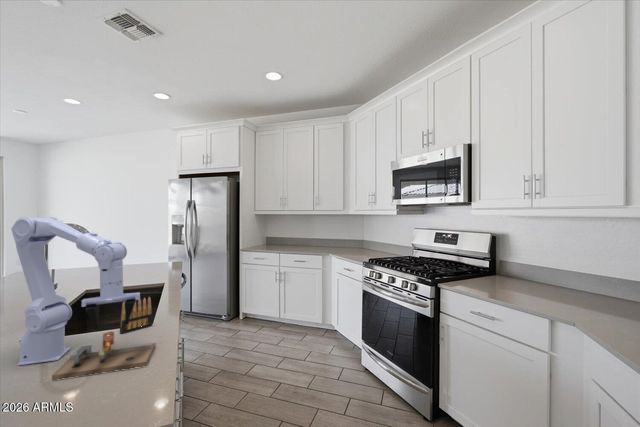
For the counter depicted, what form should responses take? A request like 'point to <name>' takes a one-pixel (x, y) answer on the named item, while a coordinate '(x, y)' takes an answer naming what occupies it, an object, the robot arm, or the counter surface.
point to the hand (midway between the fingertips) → (112, 325)
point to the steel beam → (116, 350)
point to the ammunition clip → (137, 317)
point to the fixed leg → (81, 354)
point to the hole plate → (104, 364)
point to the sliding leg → (107, 345)
